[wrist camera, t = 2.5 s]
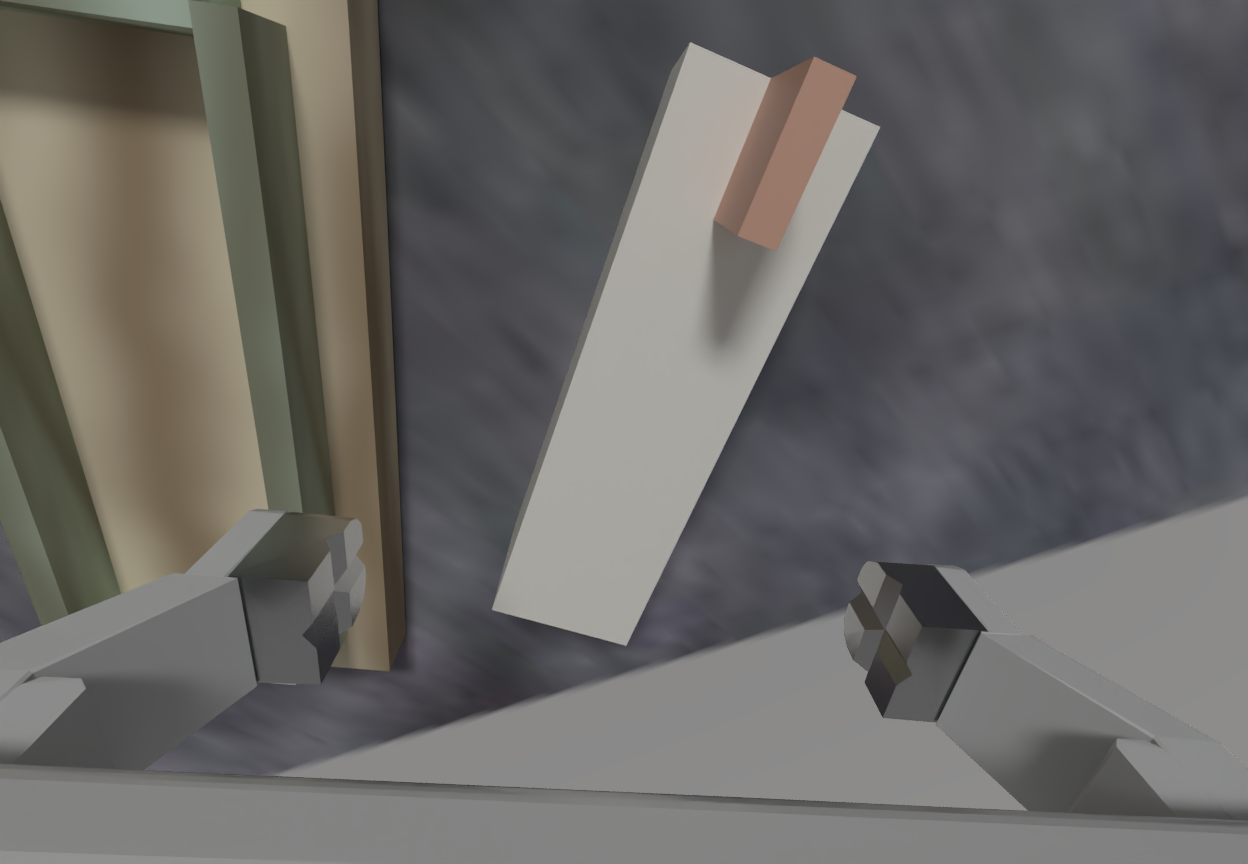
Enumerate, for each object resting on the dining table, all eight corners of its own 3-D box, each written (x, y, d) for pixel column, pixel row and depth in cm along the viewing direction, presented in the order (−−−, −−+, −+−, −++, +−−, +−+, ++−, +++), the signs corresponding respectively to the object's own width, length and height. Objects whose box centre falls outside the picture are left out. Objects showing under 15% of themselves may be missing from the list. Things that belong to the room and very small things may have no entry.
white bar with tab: (811, 134, 17) (951, 119, 10) (624, 551, 24) (627, 726, 16) (669, 72, 17) (711, 9, 9) (516, 520, 23) (470, 688, 16)
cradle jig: (376, -31, 15) (301, -88, 12) (406, 634, 25) (370, 715, 21) (-118, -106, 15) (-361, -192, 11) (111, 609, 24) (22, 689, 21)
